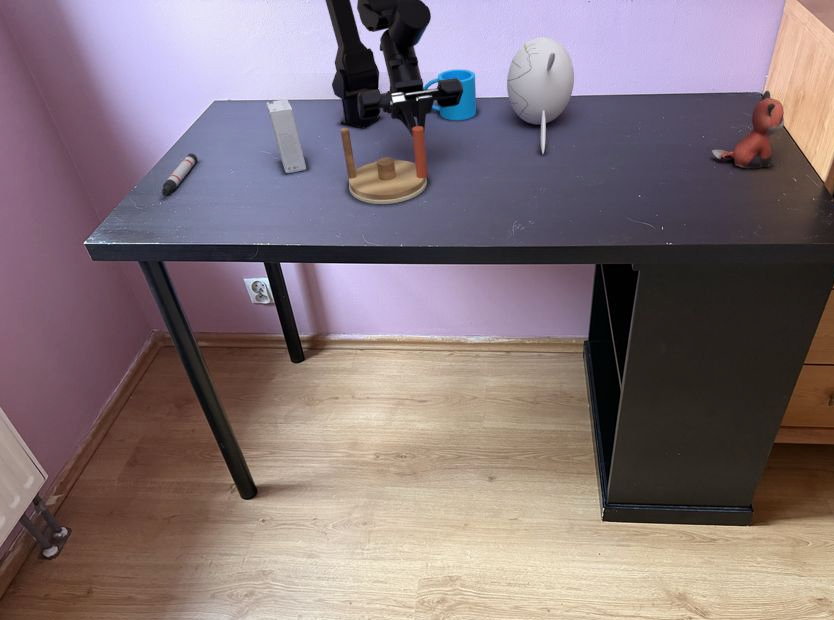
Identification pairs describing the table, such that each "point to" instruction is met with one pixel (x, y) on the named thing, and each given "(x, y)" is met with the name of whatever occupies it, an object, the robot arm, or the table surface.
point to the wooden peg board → (387, 171)
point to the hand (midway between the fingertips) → (420, 144)
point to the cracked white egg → (540, 82)
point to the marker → (179, 174)
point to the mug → (467, 100)
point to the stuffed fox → (757, 136)
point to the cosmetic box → (286, 135)
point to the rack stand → (389, 201)
